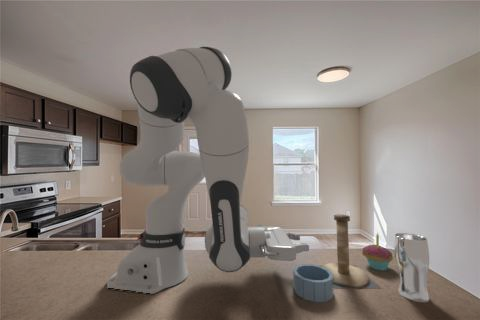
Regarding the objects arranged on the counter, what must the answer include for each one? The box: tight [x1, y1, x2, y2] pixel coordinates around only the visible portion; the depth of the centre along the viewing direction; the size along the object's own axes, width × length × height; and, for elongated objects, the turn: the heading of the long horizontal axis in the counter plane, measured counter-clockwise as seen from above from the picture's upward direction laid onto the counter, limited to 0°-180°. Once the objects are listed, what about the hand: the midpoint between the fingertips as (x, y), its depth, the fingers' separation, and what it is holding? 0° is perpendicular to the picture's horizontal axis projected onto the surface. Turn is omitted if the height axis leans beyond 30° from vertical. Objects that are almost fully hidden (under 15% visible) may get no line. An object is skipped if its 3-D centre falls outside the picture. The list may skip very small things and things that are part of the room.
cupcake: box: [361, 232, 394, 271], centre depth 70 cm, size 9×8×12 cm
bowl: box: [292, 263, 335, 303], centre depth 56 cm, size 10×10×5 cm
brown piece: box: [322, 213, 370, 287], centre depth 65 cm, size 13×13×18 cm
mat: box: [317, 264, 383, 290], centre depth 64 cm, size 14×14×1 cm
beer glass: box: [394, 232, 430, 303], centre depth 54 cm, size 7×7×15 cm
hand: (303, 241), depth 65 cm, fingers open, 8 cm apart
